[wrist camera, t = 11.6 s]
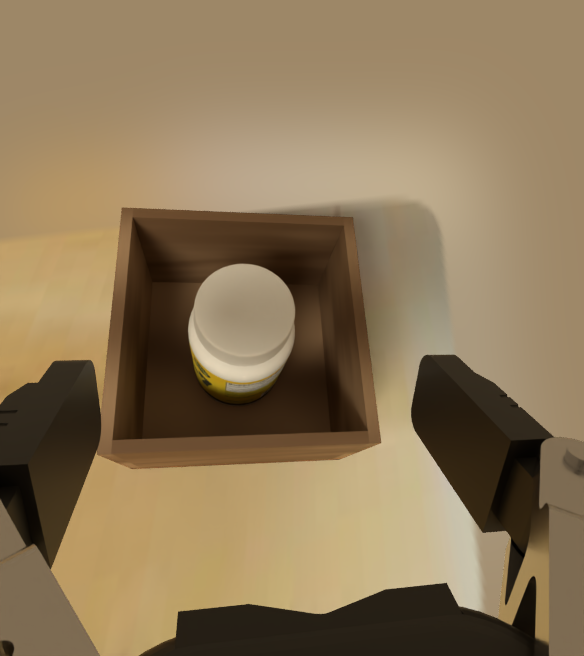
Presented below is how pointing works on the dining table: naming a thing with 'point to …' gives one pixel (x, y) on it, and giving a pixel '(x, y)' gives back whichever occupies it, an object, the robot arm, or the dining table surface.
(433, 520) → the dining table surface
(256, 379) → the supplement bottle
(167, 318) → the wooden box
